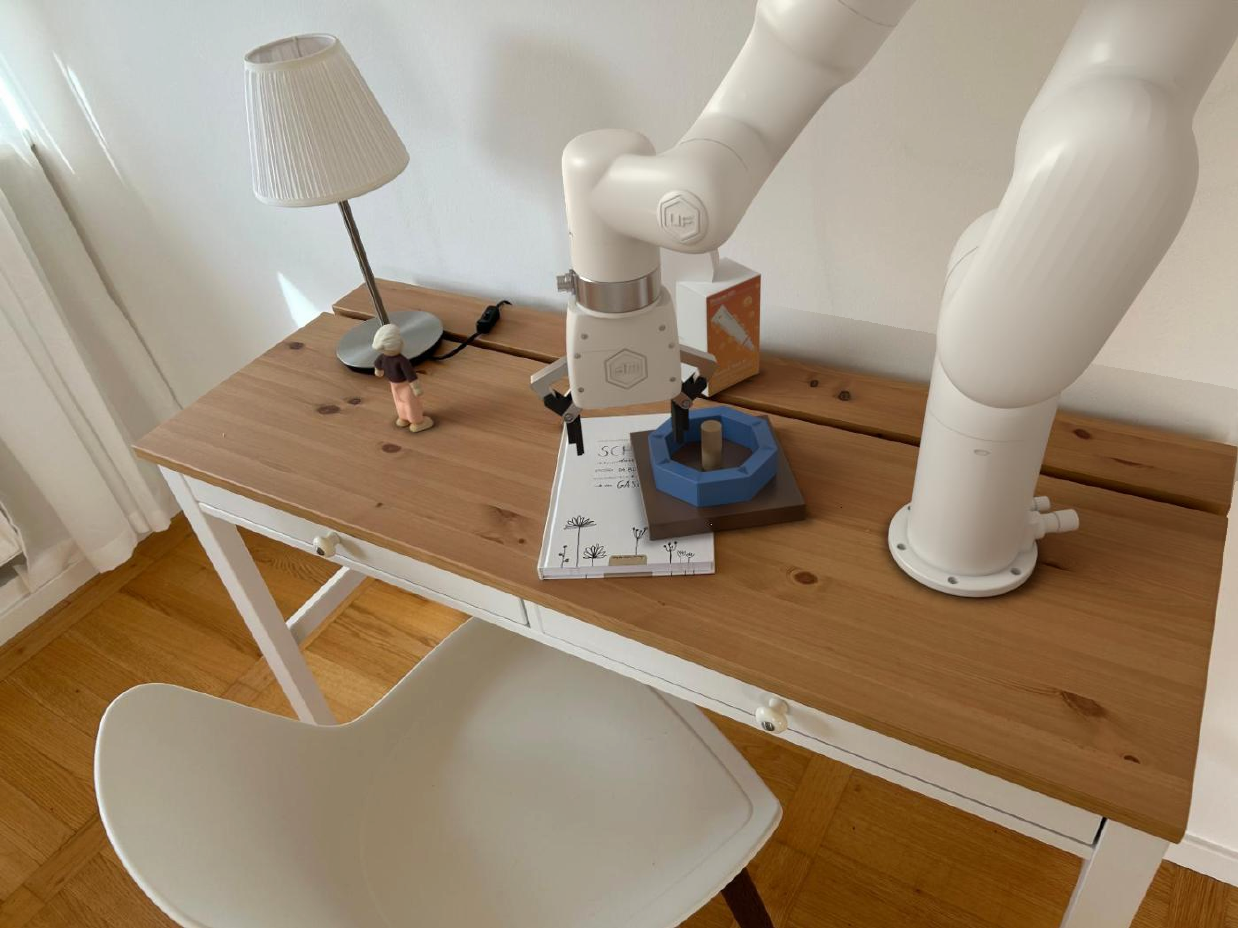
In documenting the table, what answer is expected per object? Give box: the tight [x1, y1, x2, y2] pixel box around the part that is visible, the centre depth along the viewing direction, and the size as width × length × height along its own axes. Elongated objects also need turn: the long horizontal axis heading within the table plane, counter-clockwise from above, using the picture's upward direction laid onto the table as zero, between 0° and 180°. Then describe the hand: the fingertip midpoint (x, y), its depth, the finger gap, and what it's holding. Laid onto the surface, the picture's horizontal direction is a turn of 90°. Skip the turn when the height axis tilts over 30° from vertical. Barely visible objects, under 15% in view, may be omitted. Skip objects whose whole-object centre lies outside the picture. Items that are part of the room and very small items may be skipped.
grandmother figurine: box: [371, 323, 434, 433], centre depth 101 cm, size 8×4×13 cm, turn 62°
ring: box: [648, 405, 777, 507], centre depth 90 cm, size 12×12×3 cm
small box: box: [676, 256, 762, 398], centre depth 103 cm, size 8×6×13 cm
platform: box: [629, 414, 807, 542], centre depth 90 cm, size 15×15×7 cm
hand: (628, 441), depth 88 cm, fingers open, 9 cm apart
